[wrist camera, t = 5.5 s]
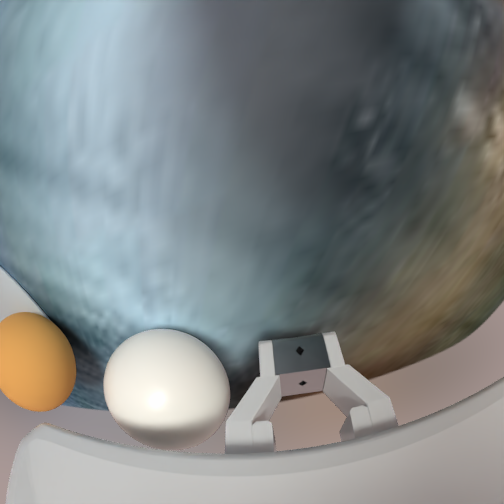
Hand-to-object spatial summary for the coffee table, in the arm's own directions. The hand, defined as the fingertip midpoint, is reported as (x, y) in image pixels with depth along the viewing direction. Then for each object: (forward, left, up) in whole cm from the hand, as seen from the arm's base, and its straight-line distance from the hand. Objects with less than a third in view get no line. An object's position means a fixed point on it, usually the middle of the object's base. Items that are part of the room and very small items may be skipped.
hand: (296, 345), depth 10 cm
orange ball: (0, -14, +1) cm, 14 cm away
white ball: (+1, -6, +1) cm, 6 cm away
